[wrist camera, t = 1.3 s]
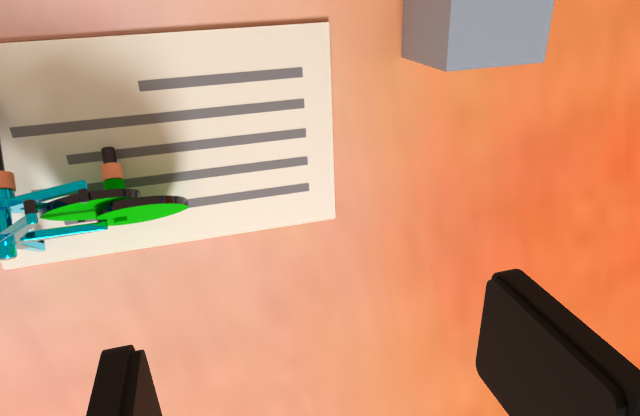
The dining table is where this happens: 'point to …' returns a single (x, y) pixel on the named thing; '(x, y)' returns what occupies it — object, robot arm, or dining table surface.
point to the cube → (475, 32)
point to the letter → (174, 129)
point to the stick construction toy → (75, 207)
